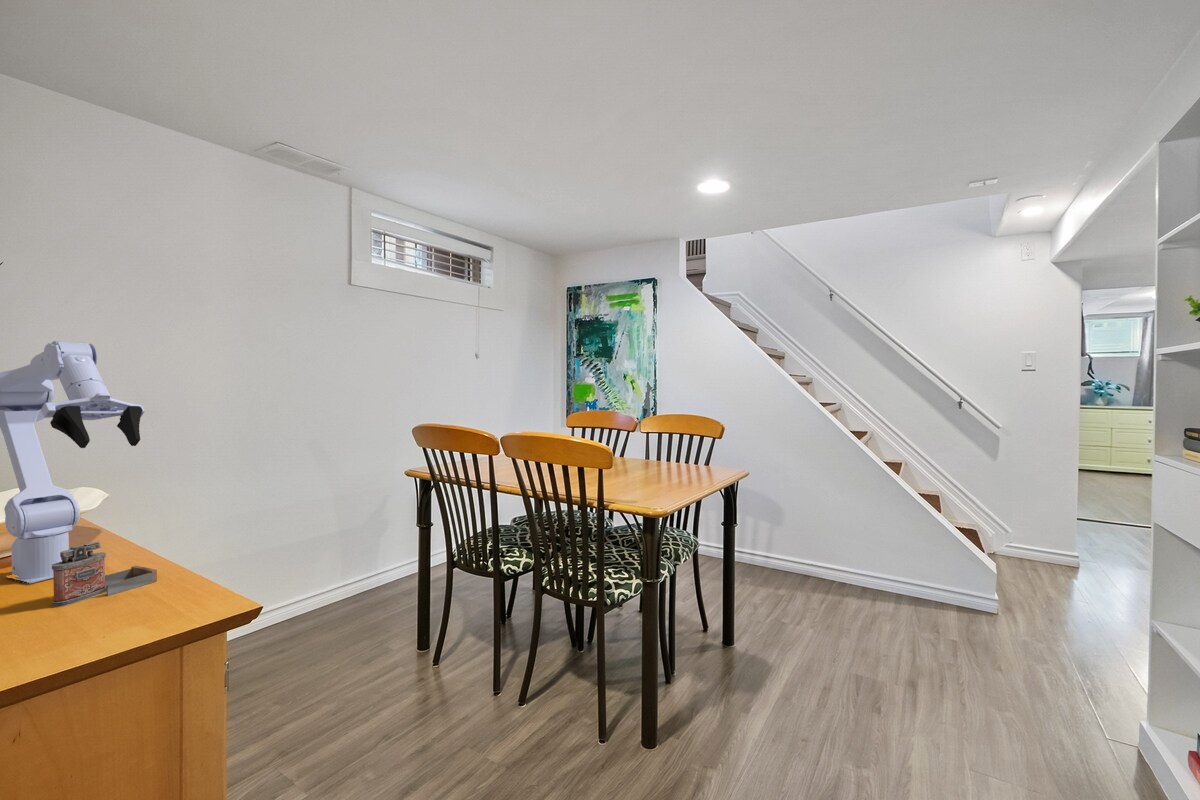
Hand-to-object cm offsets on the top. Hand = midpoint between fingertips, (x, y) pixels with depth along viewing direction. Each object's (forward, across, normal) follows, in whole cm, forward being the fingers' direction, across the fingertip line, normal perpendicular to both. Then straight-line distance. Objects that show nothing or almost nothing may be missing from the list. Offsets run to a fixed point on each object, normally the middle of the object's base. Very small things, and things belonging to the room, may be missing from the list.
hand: (111, 443), depth 97 cm
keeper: (+17, +6, +24) cm, 30 cm away
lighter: (+17, -1, +25) cm, 30 cm away
